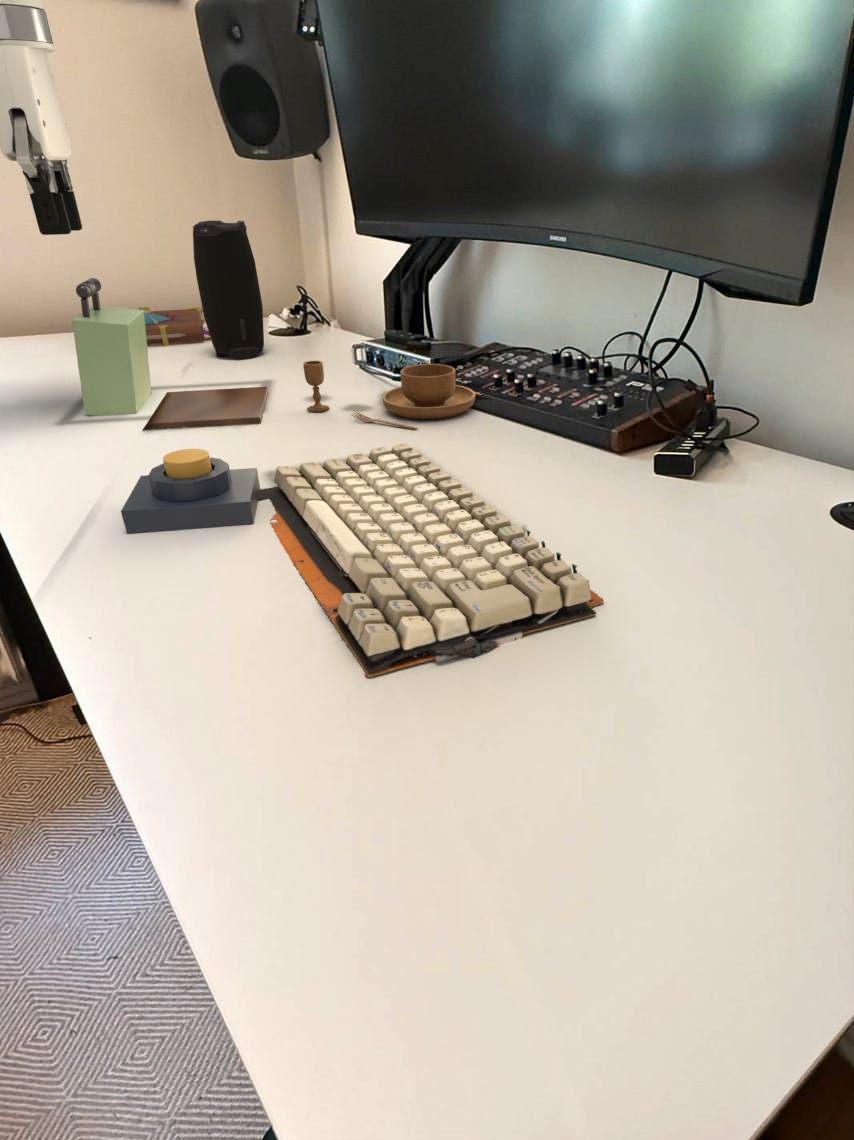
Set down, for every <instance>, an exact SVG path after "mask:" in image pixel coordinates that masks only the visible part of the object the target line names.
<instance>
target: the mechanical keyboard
mask: <svg viewBox="0 0 854 1140" xmlns="http://www.w3.org/2000/svg"><path fill="white" fill-rule="evenodd" d="M273 482H274V483H275V484H276V486H272V487H268V488H267V487H266V488H260V493H259V497H258V502H261V501H265V500H269V502H271V505H272V507H273V508H274V511H275V514H273V515H272V516H271V517H272V518H271V517H270V519H269V524H270V525H271V526H270V527H271V528H272V529H273V532H274V533H275V536H276V537H277V539H278V541H279V543H280V545H281V546H282V548H283V550H284V551H285V552H286V554H287V556H288V558H289V560H290V561H291V563H292V565H293V566H294V568H295V569H296V571H298V574H299V576H300V577H301V578H302V580H303V581H304V584H305V585H306V586H307V587H308V590H310V591H311V593H312V594H313V597H314V599H316V600H317V602H318V603H319V605H320V606H321V607H322V609H323V611H324V612H325V614H326V615H327V617H328V618H329V621H330V622H331V623H332V624H333V625H334V627H335V628H336V629H337V631H338V633H339V635H340V636H341V639H342V640H343V641H345V645H346V647H348V648H349V649H350V651H351V653H352V654H353V656H354V657H355V658H356V660H357V661H358V663H359V664H360V666H361V667H362V669H363V670H364V677H366V678H373V677H377V676H379V675H383V674H384V675H385V674H386V673H389V672H393V671H396V670H400V669H403V668H406V667H411V666H415V665H418V664H422V663H426V662H429V661H432V660H433V661H434V662H437V663H438V662H443V661H446V660H450V659H453V658H457V657H461V656H467V657H469V658H471V659H475V658H477V657H478V656H479V654H480V653H481V652H483V651H484V652H486V653H487V652H490V653H491V652H493V651H494V650H495V648H500V646H501V645H504V644H508V643H511V642H514V641H518V640H522V638H523V635H527V634H531V633H533V632H538V631H542V630H545V629H549V628H553V627H557V626H558V627H559V626H561V625H565V624H568V623H569V624H570V623H572V622H575V621H579V620H582V619H587V618H591V617H594V616H596V615H597V611H595V609H593V607H595V606H599V605H601V604H604V603H605V601H604V598H603V597H601V596H599V594H598V593H596V592H594V591H593V590H592V589H591V586H590V585H591V584H590V579H587V578H586V577H585V576H583V575H582V574H581V573H580V572H578V570H577V567H578V565H577V564H574V563H572V564H571V566H570V565H569V564H567V563H566V562H565V561H564V560H562V557H561V556H562V553H560V552H558V551H557V552H555V553H554V552H552V551H551V550H550V549H549V548H548V547H546V542H545V541H544V540H541V541H540V542H539V541H538V540H536V539H535V538H534V537H533V536H531V534H532V532H531V531H530V530H527V531H526V535H525V531H524V529H522V528H521V527H520V526H519V525H516V524H512V525H511V519H510V518H507V516H505V515H503V514H498V512H497V509H496V508H494V507H493V506H492V505H491V504H486V505H485V500H484V499H482V498H481V497H480V496H478V495H473V494H474V493H473V491H472V490H470V488H468V487H465V486H463V487H462V483H461V482H459V481H458V480H457V479H455V478H452V476H451V474H449V473H447V471H444V470H443V471H441V468H440V467H439V466H437V464H435V463H431V460H430V459H429V458H427V457H426V456H422V453H420V452H419V451H418V450H416V449H413V447H412V446H411V445H410V444H409V443H399V444H395V445H393V446H392V448H391V450H390V449H388V448H387V446H381V447H375V448H371V450H370V452H369V455H368V456H367V455H366V454H365V453H363V452H361V453H354V454H349V455H348V456H347V457H346V460H345V461H344V460H343V459H342V458H329V459H325V460H324V462H323V465H320V464H319V463H318V462H315V461H314V462H312V461H311V462H301V463H300V465H299V469H298V470H297V469H296V467H295V466H292V465H291V466H287V465H278V466H276V470H275V474H274V479H273ZM273 521H276V522H273ZM540 543H541V547H540ZM555 556H556V558H555Z"/></svg>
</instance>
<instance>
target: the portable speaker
mask: <svg viewBox="0 0 854 1140" xmlns="http://www.w3.org/2000/svg"><path fill="white" fill-rule="evenodd" d="M247 230H248V229H247V225H246V223H245V221H244V220H238V221H237V222H224V221H222V220H203V221H199V222H197V223H196V224H194V225H193V226H192V244H193V246H192V247H193V261H194V262H193V263H194V269H195V276H196V283H197V286H198V292H199V297H200V303H201V308H203V312H202V314H203V318H204V322H205V325H206V327H207V331H209V334H210V336H209V337H210V341H211V343H212V346H213V348H214V352H215V356H216V357H217V358H218V357H222V356H223V355H224V354H225V355H229V356H230V358H231V359H232V360H238V361H239V360H247V359H252V358H257V356H258V354H259V353H262V352H263V350H264V346H265V335H264V334H265V333H264V309H263V308H264V307H263V301H262V295H261V289H260V284H259V283H260V282H259V278H258V277H259V276H258V272H257V266H256V260H255V258H254V257H255V256H254V254H253V253H254V252H253V250H252V247H251V243H250V240H249V237H248V233H247Z"/></svg>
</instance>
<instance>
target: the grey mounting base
mask: <svg viewBox="0 0 854 1140" xmlns="http://www.w3.org/2000/svg"><path fill="white" fill-rule="evenodd" d="M210 462H211V467H212V471H211V472H209V473H207V474H205V475H201V476H197V477H193V478H181V479H177V478H170V477H167V475H166V470H165V466H164V462H163V463H160V464H159V465H157V466H155V467H153V468H151V469H150V472H149V473H148V474H147V475H140V476H139V478H138V480H137V482H136V484H135V486H134V487H133V489H132V490H131V492H130V494H129V496H128V497H127V500H126V502H125V503H124V504H123V507H122V509H121V510H120V514H121V517H122V521H123V524H124V525H123V526H124V529H125V532H126V534H127V535H129V534H130V535H131V534H144V533H156V532H170V531H182V530H183V531H184V530H195V529H207V528H209V529H210V528H223V527H234V526H235V527H236V526H248V525H249V526H250V525H254V523H255V518H256V513H257V507H258V503H259V501H258V497H259V493H260V489H261V484H260V477H259V473H258V468H257V467H250V468H249V467H247V468H235V469H230V465H229V463H228V462H226V461H225V460H223V459H221V458H217V457H210Z"/></svg>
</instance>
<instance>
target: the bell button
mask: <svg viewBox="0 0 854 1140" xmlns="http://www.w3.org/2000/svg"><path fill="white" fill-rule="evenodd" d="M210 458H211V457H210V453H209V451H208V450H206V449H201V448H185V449H178V450H174V451H171V452H169V453H166V454H164V456H163V457H162V462H163V463H164V466H165V470H166V475H167V477H170V478H177V479H181V478H193V477H197V476H201V475H205V474H207V473H209V472H211V471H212V467H211V462H210Z"/></svg>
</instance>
